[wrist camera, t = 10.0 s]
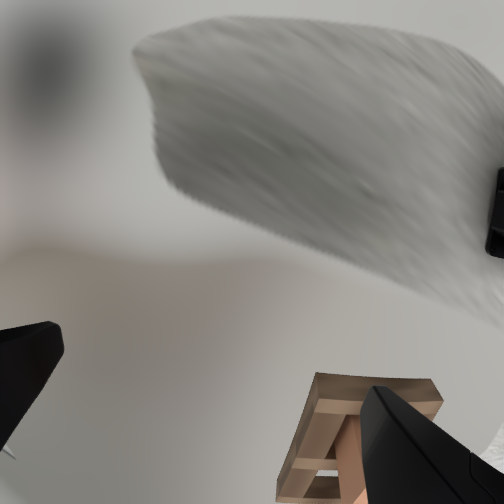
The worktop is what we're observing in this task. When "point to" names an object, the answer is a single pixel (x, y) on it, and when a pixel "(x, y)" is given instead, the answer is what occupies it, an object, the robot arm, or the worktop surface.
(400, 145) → the worktop surface
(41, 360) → the robot arm
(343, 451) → the tan rectangular block
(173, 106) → the worktop surface
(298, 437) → the socket block
